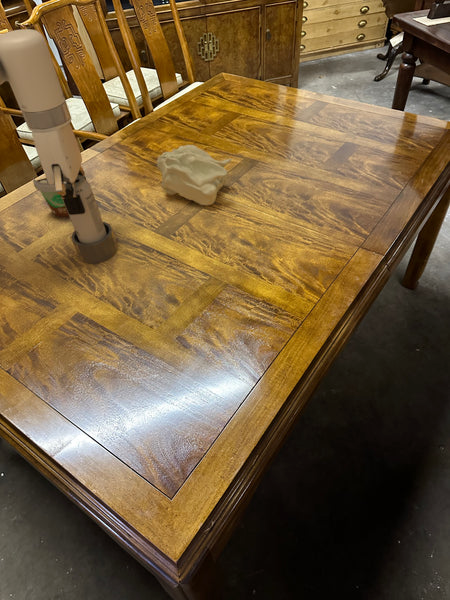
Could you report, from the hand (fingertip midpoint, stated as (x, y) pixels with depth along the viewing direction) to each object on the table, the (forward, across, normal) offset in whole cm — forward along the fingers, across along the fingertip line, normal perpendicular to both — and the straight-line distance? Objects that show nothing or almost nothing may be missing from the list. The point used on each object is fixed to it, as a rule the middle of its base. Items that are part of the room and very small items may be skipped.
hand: (80, 203), depth 85 cm
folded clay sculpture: (+13, -19, +23) cm, 32 cm away
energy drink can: (+10, 0, 0) cm, 10 cm away
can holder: (+12, 0, 0) cm, 12 cm away
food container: (+13, -17, -9) cm, 23 cm away
